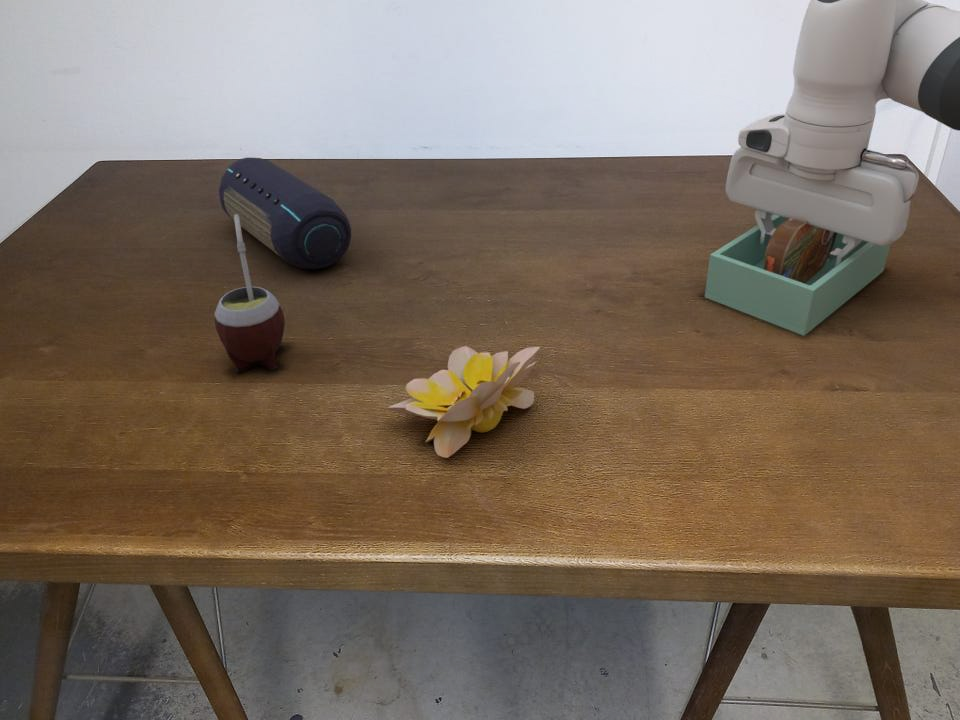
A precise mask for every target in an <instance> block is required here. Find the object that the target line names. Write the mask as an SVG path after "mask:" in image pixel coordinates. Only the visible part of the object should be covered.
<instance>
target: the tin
mask: <svg viewBox="0 0 960 720" xmlns="http://www.w3.org/2000/svg"><path fill="white" fill-rule="evenodd" d="M807 223H808V222H803V221H798V220H794V219H790V218H788V219H787V220H786V221H784V222H783V223H782V224H781V225H779V226H778V228H777V229H776V230H775V231H774V233H773V235H772V236H771V238H770V240H769V243H768V245H767V248H766V251H765V261H764V270H767V271H769V272H772V273H775V274H778V275H781V276H784V277H787V278H790V279H792V280H795V281H798V282H801V283H804V284H805V283H806V282H807V281H808V280H809V279H810V278H812V277H813V276H814V275H815V274H816V273H817V272H818V271H819V270H821V269H822V267H823V266H824V265H825V263H826V262H827V260H828V258H829V254H830V253H831V251H832V249H833V246H834V243H835V239H836V236H837V233H836V232H832V231H829V230H826V229H822V228H819V227H815V226H812V225H809V224H807Z"/></svg>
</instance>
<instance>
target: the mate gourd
mask: <svg viewBox="0 0 960 720" xmlns="http://www.w3.org/2000/svg"><path fill="white" fill-rule="evenodd" d="M233 222H234V227H235V228H234V229H235V234H236V242H237V243H236V248H237V253H239V259H240V262H241V267H242V272H243V277H244V282H245V286H243V287H239V288H235V289H233V290H230V291H228V292H226V293H225V294H224V295H223V296H222V297H221V298H220V299H219V301H218V303H217V306H216V309H215V311H214V326H215V330H216V332H217V335H218V337H219V340H220V342H221V343H222V345H223V347H224V349H225V351H226V354H227V356H228V358H229V359H230V361H231V363H232V365H234V367H235V368H234V369H233V373H235V374H236V375H239V374H241V373H244V372H245V371H247V370H249V369H251V368H252V367H255V366H257V365H261V366H263V367H265V368H266V369H269V370H270V371H272V372H276V371H277V370H279V369H280V365H278V364H277V363H276V354H277V353H279V352H281V351H282V350H284V345H283V344H282V340H283V336H284V332H285V325H286V322H285V321H286V320H285V314H284V313H283V312H284V311H283V309H282V308H281V305H280V302H279V300H278V299H277V298H276V296H274V294H273V293H271V292H270V291H269V290H267V289H265V288H263V287H259V286H253V285H252V280H251V276H250V271H249V265H248V260H247V256H246V251H247V249H246V244H245V242H244V239H243V235H242V233H243V232H242V227H241V225H240V218H239V215H238V214H235V215H234V220H233Z"/></svg>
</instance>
